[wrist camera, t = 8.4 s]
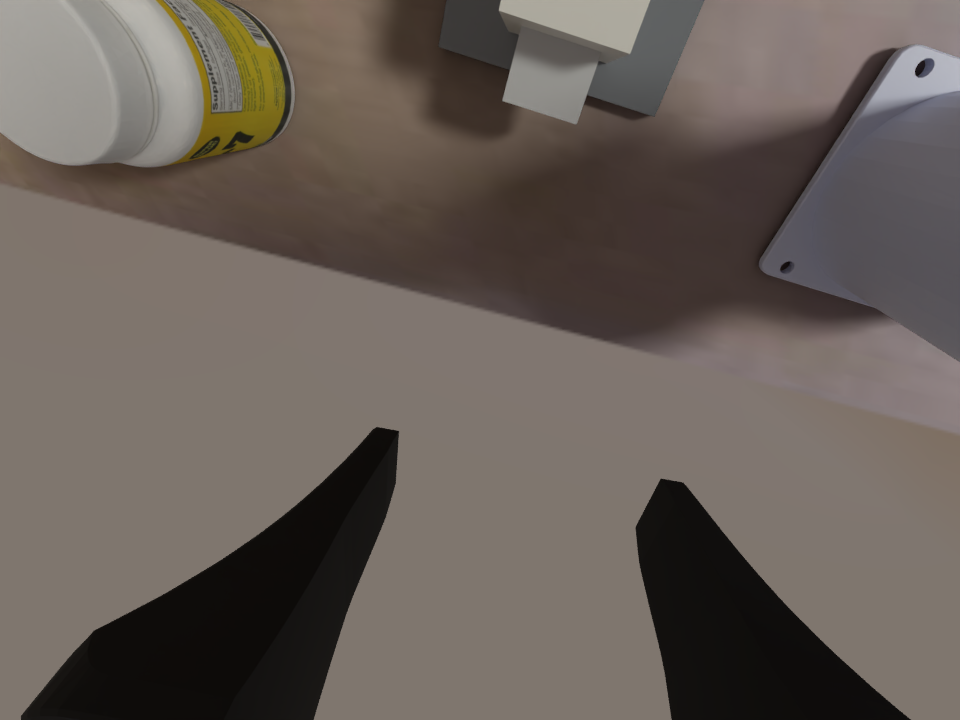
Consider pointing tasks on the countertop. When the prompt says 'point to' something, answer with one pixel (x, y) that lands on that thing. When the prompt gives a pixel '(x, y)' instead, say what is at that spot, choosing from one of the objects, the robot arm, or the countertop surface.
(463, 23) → the coaster
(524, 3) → the block
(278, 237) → the countertop surface
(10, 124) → the supplement bottle
